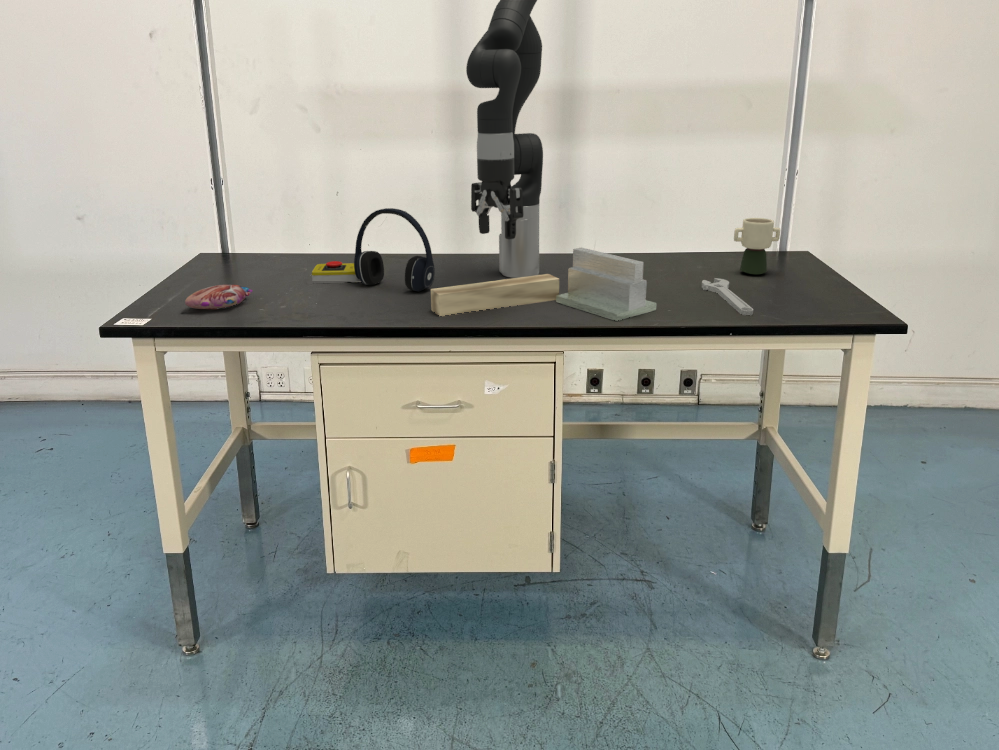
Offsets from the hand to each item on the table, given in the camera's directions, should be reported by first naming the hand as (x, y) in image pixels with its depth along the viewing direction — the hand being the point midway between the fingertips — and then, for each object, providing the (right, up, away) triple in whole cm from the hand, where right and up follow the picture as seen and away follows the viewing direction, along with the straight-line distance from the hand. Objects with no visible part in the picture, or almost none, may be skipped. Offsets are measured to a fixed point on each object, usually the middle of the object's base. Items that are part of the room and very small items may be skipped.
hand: (497, 236), depth 167 cm
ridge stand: (+23, -14, +4) cm, 27 cm away
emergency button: (-39, -6, +29) cm, 48 cm away
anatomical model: (-60, -14, +8) cm, 62 cm away
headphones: (-24, -9, +20) cm, 32 cm away
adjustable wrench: (+50, -13, +9) cm, 52 cm away
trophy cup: (+62, -5, +28) cm, 69 cm away
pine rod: (0, -14, +6) cm, 15 cm away
